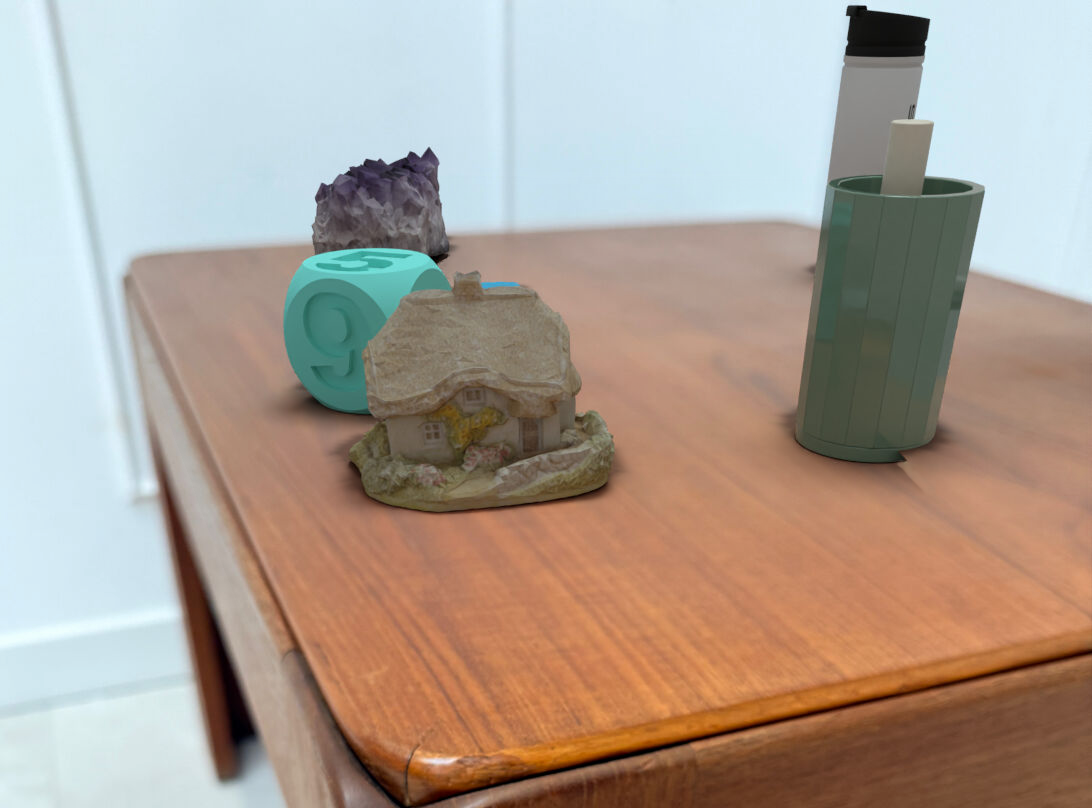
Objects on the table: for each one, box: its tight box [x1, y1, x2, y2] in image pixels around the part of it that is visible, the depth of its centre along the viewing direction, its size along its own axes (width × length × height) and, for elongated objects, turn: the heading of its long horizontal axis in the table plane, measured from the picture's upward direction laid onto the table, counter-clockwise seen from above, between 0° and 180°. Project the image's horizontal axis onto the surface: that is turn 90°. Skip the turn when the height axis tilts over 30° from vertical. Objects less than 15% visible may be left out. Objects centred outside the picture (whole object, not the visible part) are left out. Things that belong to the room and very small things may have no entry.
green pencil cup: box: [794, 175, 986, 464], centre depth 58 cm, size 8×8×13 cm
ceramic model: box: [347, 269, 616, 513], centre depth 56 cm, size 14×11×10 cm
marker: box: [880, 118, 935, 195], centre depth 57 cm, size 3×3×15 cm
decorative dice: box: [282, 248, 453, 415], centre depth 68 cm, size 8×8×8 cm
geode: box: [311, 146, 451, 258], centre depth 102 cm, size 20×12×10 cm, turn 171°
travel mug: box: [826, 4, 931, 185], centre depth 91 cm, size 6×7×20 cm
